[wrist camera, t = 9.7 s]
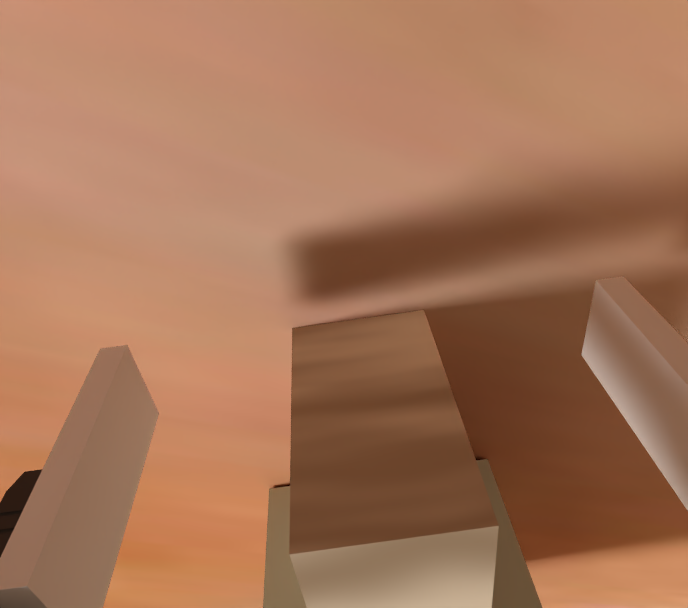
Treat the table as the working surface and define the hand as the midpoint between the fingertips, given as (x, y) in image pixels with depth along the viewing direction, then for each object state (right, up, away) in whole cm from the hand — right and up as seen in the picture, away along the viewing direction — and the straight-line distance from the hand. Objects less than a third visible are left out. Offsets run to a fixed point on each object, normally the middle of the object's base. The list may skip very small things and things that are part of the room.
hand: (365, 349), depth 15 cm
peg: (+1, -5, +9) cm, 10 cm away
